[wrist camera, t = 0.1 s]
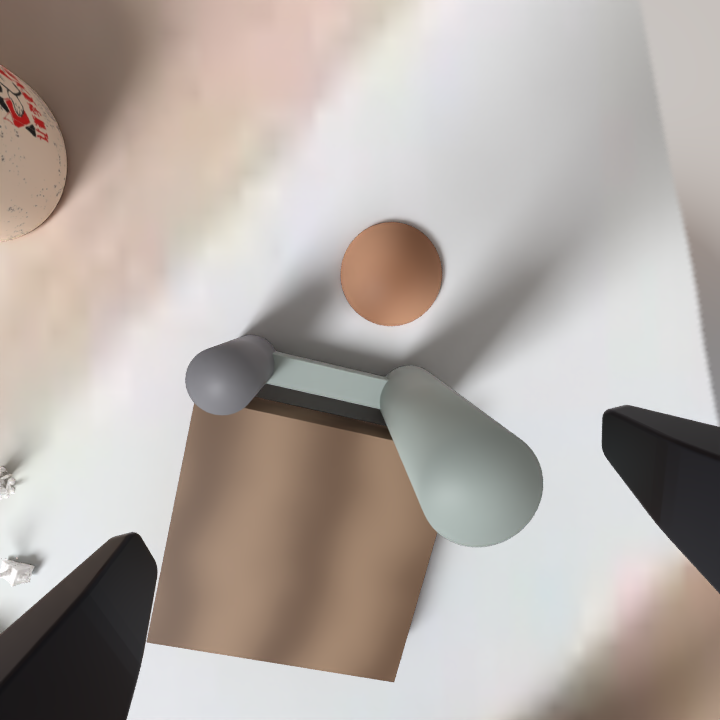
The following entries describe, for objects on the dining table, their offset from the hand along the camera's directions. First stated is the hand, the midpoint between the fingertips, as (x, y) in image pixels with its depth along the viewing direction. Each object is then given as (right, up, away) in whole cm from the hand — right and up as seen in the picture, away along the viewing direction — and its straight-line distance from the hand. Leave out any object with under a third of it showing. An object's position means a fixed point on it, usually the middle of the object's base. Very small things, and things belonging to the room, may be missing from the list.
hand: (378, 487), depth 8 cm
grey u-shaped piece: (-2, +1, +15) cm, 15 cm away
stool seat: (-2, -2, +16) cm, 16 cm away
